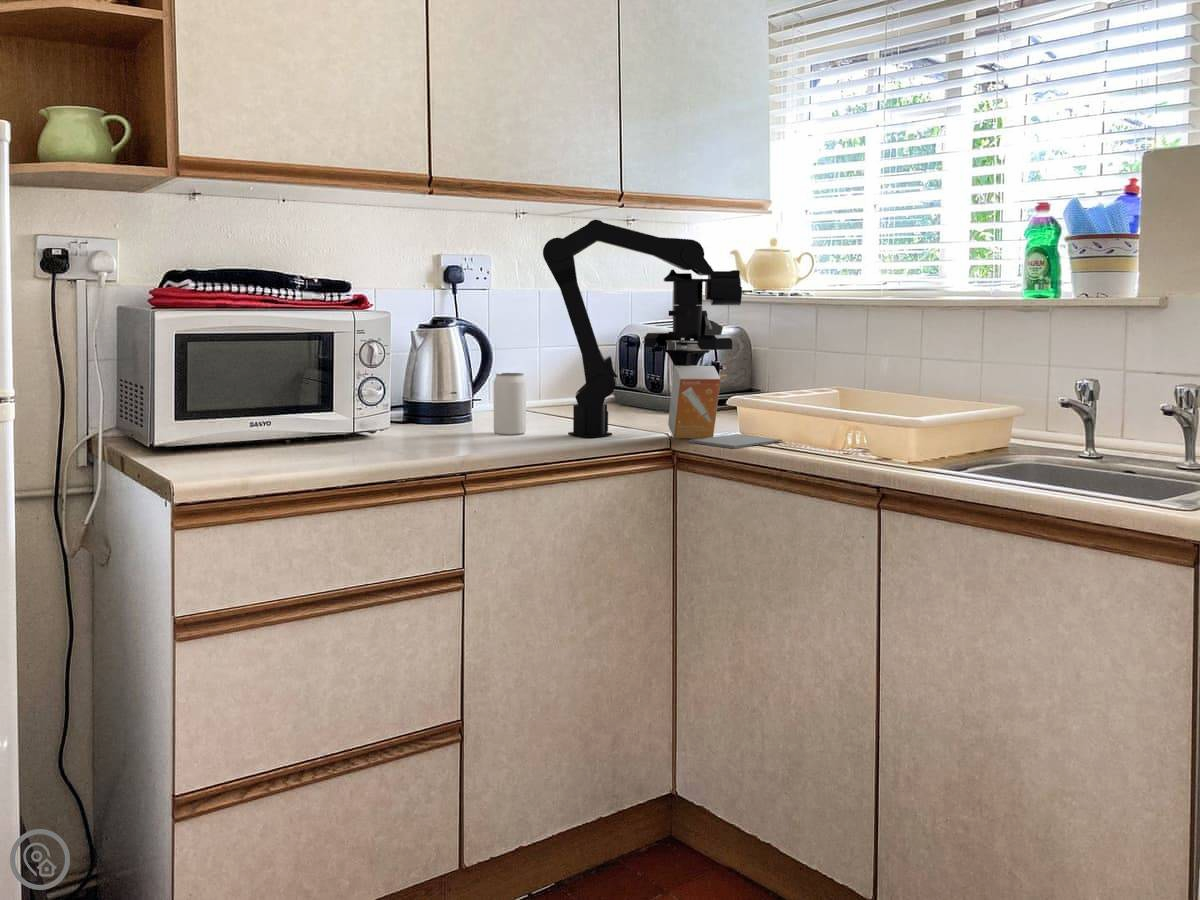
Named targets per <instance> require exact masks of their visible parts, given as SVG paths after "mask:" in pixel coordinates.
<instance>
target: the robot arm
mask: <svg viewBox="0 0 1200 900" xmlns="http://www.w3.org/2000/svg"><path fill="white" fill-rule="evenodd" d="M597 242H599V243H603V244H607V245H609V246H610V245H611V246H614V247H618V248H621V249H625V250H630V251H633V252H636V253H639V254H645V255H649V256H652V257H654V258H656V259H658V260H661V261H663V262H664V263H667V264H669V265H671V266H674V267H675V268H678V269H680V270H682V271H692V272H693V273H694V274H696V275H698V276H701V277H702V276H707V278H693V275H692V272H691V273H686V272H685V273H684V272H683V273H679V272H676V271H675V270H674V269H671V270H670V271H669V273H668V274H667V275H666V276H665V277H664V278H663V282H666V283H671V282H672V283H673V284H672V286H673V287H672V292H673V293H672V296H673V297H672V310H668V316H669V317H672V331H668V332H647V333H646V335H645V336H644V338H643V342H644V343H643V347H644V348H656V347H667V348H666V349H664V353H667V354H668V356H669V358H670V359H671V362H672V363H673V366H698V363H699V362H700V360H701V358H702V357H703V356H704V355H705V354H708V353H709V352H710V351H719V350H720V351H721V350H725V351H726V350H733V338H732V337H731V336H730V334H722V332H723V330H724V327H723V326H722V325H721V324H719V323H717V322H715V321H714V320H710V319H708V312H707V310H703V288H704V299H705V301H710V305H711V306H741V303H742V297H743V295H742V294H743V293H742V292H743V287H742V281H741V280H742V279H741V272H740V270H738V269H733V270H725V271H724V270H720V271H719V270H714V269H713V268H712V266H711V265H710V264H709V263H708V261H707V260H706V259H705V251H704V247H703V246H702V244H701V243H700V242H699V241H697V240H695V239H689V238H687V239H686V238H677V237H663V236H662V237H660V236H656V235H653V234H648V233H644V232H641V231H636V230H634V229H633V230H632V229H629V228H625V227H621V226H618V225H613V224H611V223H606V222H604V221H602V220H600V219H593V220H591V221H589V222H588V223H587V224H586V225H584V226H582V227H580V228H579V229H577V230H575V231H573V232H572V233H570V234H568V235H566V236H565V237H553V238H551V239H549V240H548V241H547V242H546V243H545V244H544V246H543V249H542V255H543V259H544V261H545V263H546V265H547V267H548V269H549V271H550V272H551V274H552V276H553V278H554V280H555V282H556V284H557V285H558V287H559V289H560V293H561V295H562V298H563V301H564V305H565V307H566V310H567V314H568V317H569V320H570V323H571V325H572V329H573V331H574V335H575V338H576V341H577V344H578V347H579V350H580V353H581V359H582V364H583V365H582V366H583V373H584V381H585V383H584V384H583V385H582V386H581V387H580V388H579V389H578V390H577V391H576V393H575V400H576V404H573V420H572V421H573V425H572V427H573V428H572V431H569V432H567V435H568V436H575V437H582V438H588V439H589V438H591V439H592V438H599V437H608V436H609V437H610V436H613V433H612V432H608V431H609V411H608V404H607V403H604V402H605V400H606V398H608V397H610V396H611V395H613V393H614V391H615V390H616V380H615V378H618V374H617V373H616V371H615V370H614V368H613V367H614V366H613V360H612V356H611V355H608V356H606V357H604V355H603V354H602V352H601V350H600V348H599V345H598V342H597V339H596V336H595V333H594V329H593V326H592V324H591V319H590V317H589V314H588V312H587V311H588V310H587V308H586V305H585V302H584V299H583V295H582V292H581V289H580V287H579V284H578V277H577V270H576V263H575V257H574V256H576V255H577V254H580V253H581V252H582V251H584V250H586V249H587V248H589V247H591V246H592V245H593V244H596V243H597ZM703 283H704V284H705V285H704V284H703ZM703 285H704V286H703Z"/></svg>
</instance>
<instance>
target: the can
mask: <svg viewBox="0 0 1200 900" xmlns="http://www.w3.org/2000/svg"><path fill="white" fill-rule="evenodd" d="M524 375H525V374H524V373H521V372H499V373H495V378H494V380H493V432H494V434H495V435H498V436H520V435H521V436H522V435H524V434H525V433H526V432H527V383H526V379H525V376H524Z"/></svg>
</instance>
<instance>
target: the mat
mask: <svg viewBox="0 0 1200 900" xmlns="http://www.w3.org/2000/svg"><path fill="white" fill-rule="evenodd" d="M779 441H782V442H783V439H780V438H774V437H773V438H772V437H766V436H765V437H764V436H757V435H749V434H740V433H739V434H738V433H736V434H728V435H727V434H726V435H720V436H713V437H710V438H692V439H690V440H689V443H693V444H698V445H699V444H700V445H708V446H713V447H720V448H727V449H741V448H742V449H743V448H749V446H750V447H753V446H752V445H758V446H760V445H759V444H765V445H770V444H769V443H772V444H775V443H774V442H779Z"/></svg>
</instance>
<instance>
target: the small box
mask: <svg viewBox="0 0 1200 900" xmlns="http://www.w3.org/2000/svg"><path fill="white" fill-rule="evenodd" d="M721 379H722V378H721V377H720V375H719V373H718V371H717V369H716V367H715V366H714V365H697V366H675V365H673V374H672V383H671V392H670V401H669V402H670V403H669V411H668V412H669V413H668V420H667V421H668V423H667V425H668V428H669V430H670V433H671V434H672V437H673V439H701V438H710V437H714V434H715V433H714V432H715V427H716V426H715V425H716V419H717V412H718V411H717V410H718V402H719V396H720V388H721V381H722V380H721Z"/></svg>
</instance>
